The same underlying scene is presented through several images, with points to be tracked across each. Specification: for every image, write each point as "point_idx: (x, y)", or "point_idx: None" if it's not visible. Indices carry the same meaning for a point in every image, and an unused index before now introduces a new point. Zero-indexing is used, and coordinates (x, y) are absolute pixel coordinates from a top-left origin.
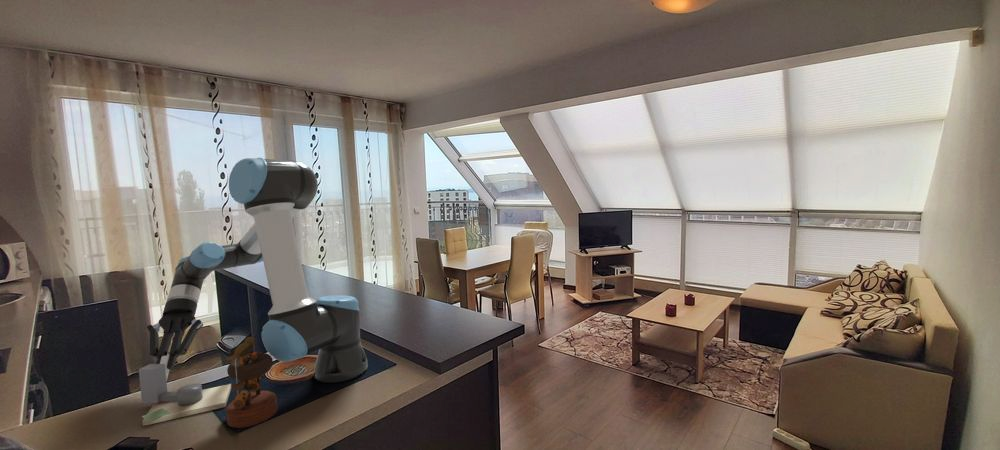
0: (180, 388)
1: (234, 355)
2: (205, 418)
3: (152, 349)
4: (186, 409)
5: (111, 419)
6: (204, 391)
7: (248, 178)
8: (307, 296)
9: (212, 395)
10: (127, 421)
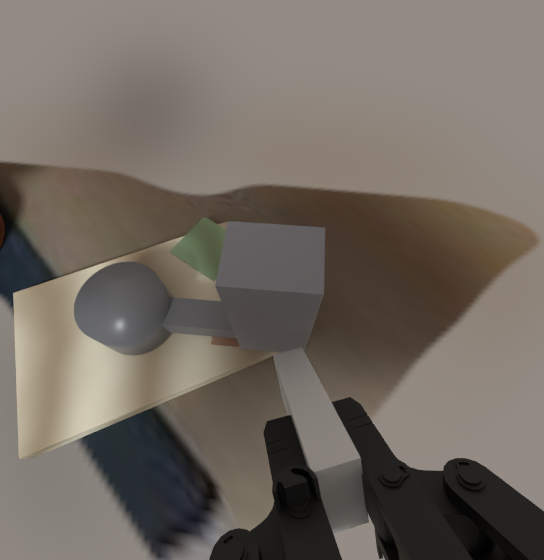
0: (157, 303)
1: None
2: (69, 246)
3: (521, 520)
4: None
5: (357, 272)
6: (118, 391)
7: None
8: None
9: (72, 350)
10: None
